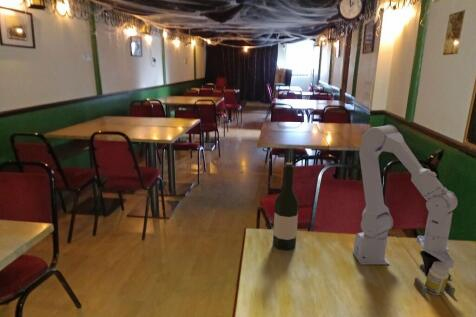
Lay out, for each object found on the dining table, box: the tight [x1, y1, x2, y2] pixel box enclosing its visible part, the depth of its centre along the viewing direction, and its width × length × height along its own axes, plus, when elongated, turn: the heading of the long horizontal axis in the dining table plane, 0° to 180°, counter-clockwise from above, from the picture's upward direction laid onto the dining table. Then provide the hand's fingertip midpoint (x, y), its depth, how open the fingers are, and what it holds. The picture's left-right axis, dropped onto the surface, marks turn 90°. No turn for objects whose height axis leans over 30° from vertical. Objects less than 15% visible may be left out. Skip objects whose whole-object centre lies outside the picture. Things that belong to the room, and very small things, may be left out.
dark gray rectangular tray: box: [419, 263, 452, 280], centre depth 106 cm, size 6×6×1 cm
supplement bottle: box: [424, 261, 450, 296], centre depth 96 cm, size 5×5×8 cm
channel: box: [413, 277, 456, 297], centre depth 97 cm, size 9×5×2 cm, turn 92°
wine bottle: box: [272, 162, 300, 252], centre depth 118 cm, size 8×8×30 cm
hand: (429, 276), depth 99 cm, fingers closed, pressing on supplement bottle
